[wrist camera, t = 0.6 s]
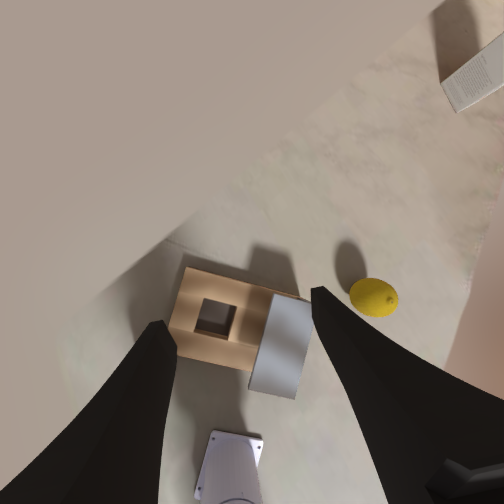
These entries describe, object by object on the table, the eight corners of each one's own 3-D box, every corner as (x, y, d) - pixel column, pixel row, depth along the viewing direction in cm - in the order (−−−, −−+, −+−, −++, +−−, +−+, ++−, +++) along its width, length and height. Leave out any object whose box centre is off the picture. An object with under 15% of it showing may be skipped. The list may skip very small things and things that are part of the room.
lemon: (333, 289, 36) (364, 298, 28) (358, 269, 37) (395, 272, 29) (352, 316, 37) (388, 332, 29) (377, 296, 37) (419, 305, 29)
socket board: (280, 372, 35) (294, 399, 28) (164, 346, 33) (149, 368, 26) (300, 297, 36) (318, 305, 29) (188, 266, 33) (179, 268, 27)
